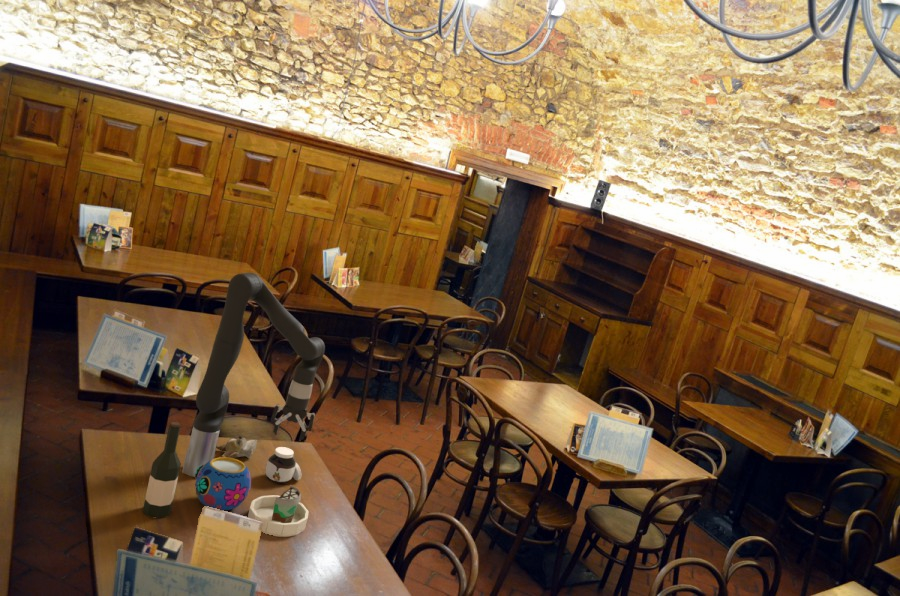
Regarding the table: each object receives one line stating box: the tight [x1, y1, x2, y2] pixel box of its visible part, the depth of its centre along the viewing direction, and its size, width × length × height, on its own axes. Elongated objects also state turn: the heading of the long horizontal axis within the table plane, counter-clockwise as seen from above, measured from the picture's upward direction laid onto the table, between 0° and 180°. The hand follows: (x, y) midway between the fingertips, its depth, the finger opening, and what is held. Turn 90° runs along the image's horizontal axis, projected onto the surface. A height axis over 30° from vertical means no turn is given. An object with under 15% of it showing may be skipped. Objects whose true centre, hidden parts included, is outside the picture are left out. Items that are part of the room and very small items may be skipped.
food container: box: [272, 484, 302, 523], centre depth 242 cm, size 12×6×10 cm, turn 168°
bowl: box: [247, 494, 310, 538], centre depth 243 cm, size 19×19×4 cm
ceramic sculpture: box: [216, 436, 258, 459], centre depth 282 cm, size 11×9×15 cm
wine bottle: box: [142, 421, 182, 519], centre depth 228 cm, size 8×8×30 cm
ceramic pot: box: [194, 456, 252, 511], centre depth 242 cm, size 18×18×15 cm
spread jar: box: [265, 446, 303, 485], centre depth 273 cm, size 12×11×12 cm
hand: (288, 437), depth 252 cm, fingers open, 8 cm apart
